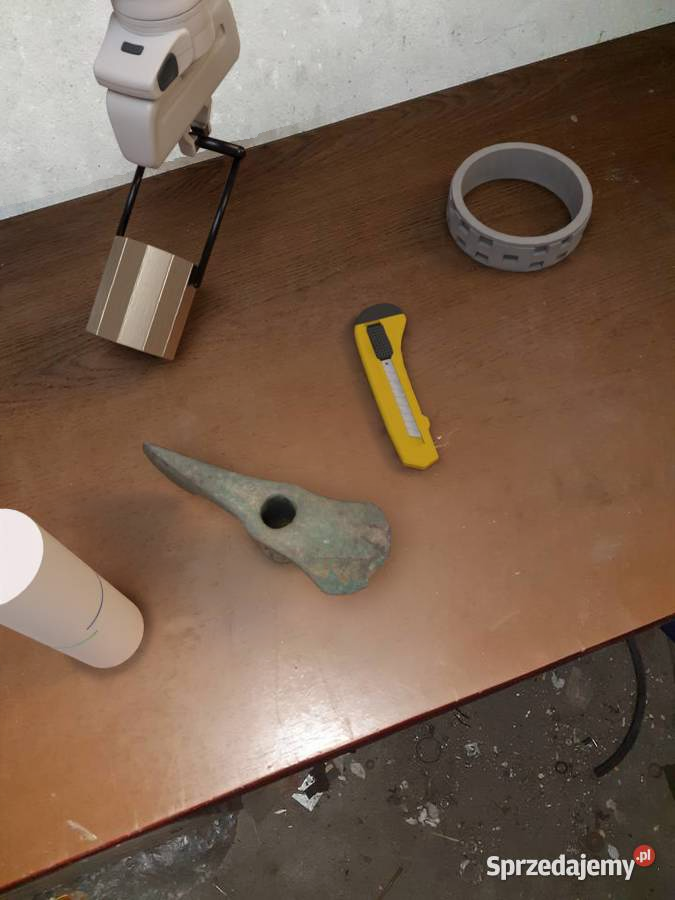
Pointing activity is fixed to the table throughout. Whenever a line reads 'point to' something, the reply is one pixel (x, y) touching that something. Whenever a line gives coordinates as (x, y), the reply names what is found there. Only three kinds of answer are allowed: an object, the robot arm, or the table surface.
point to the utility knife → (393, 384)
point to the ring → (524, 165)
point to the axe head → (291, 521)
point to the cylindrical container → (62, 597)
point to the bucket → (154, 277)
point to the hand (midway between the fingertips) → (196, 144)
